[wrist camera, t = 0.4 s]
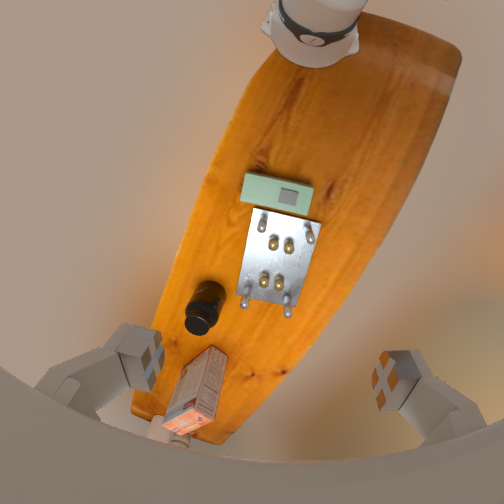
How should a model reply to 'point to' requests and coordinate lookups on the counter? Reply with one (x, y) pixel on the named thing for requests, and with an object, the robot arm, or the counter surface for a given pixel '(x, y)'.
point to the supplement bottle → (204, 308)
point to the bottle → (158, 430)
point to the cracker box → (197, 392)
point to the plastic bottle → (181, 440)
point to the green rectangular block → (276, 193)
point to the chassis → (276, 258)
